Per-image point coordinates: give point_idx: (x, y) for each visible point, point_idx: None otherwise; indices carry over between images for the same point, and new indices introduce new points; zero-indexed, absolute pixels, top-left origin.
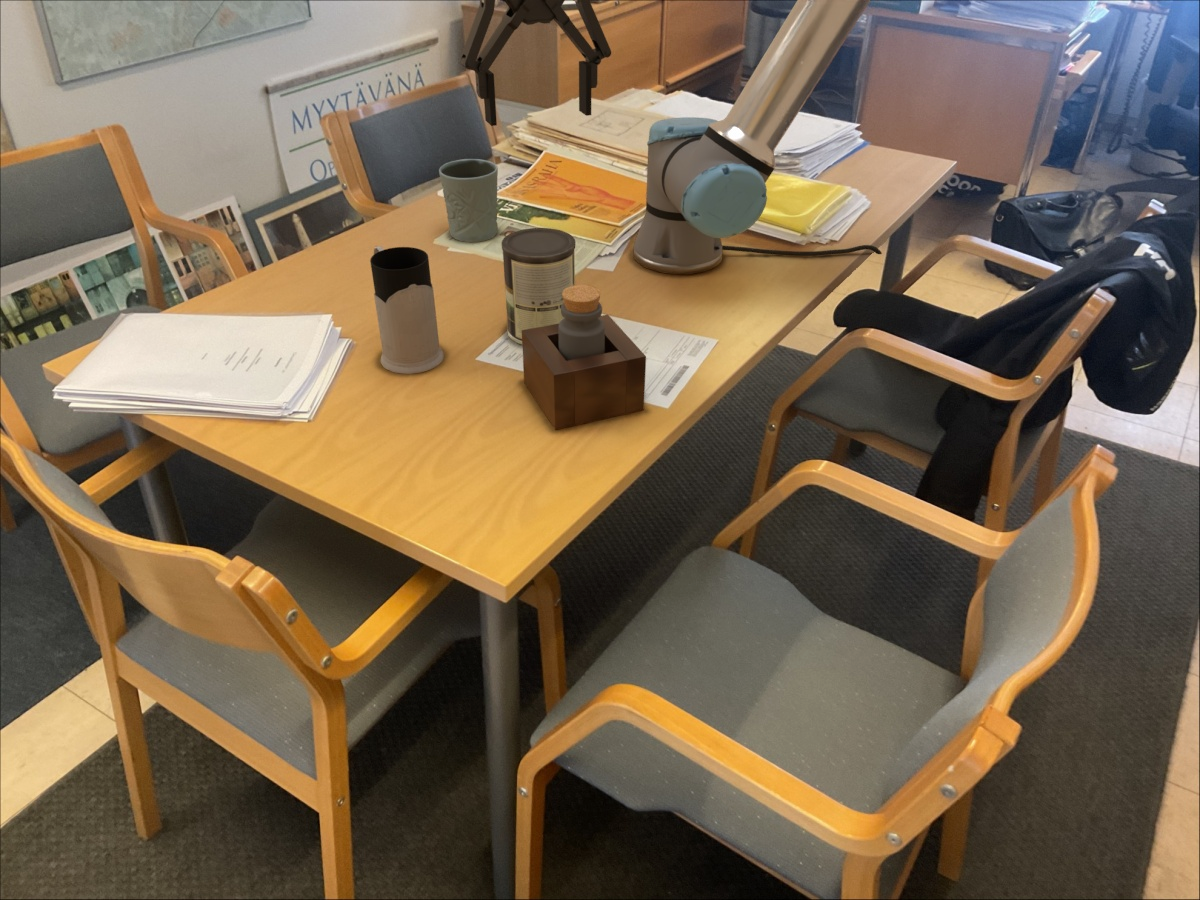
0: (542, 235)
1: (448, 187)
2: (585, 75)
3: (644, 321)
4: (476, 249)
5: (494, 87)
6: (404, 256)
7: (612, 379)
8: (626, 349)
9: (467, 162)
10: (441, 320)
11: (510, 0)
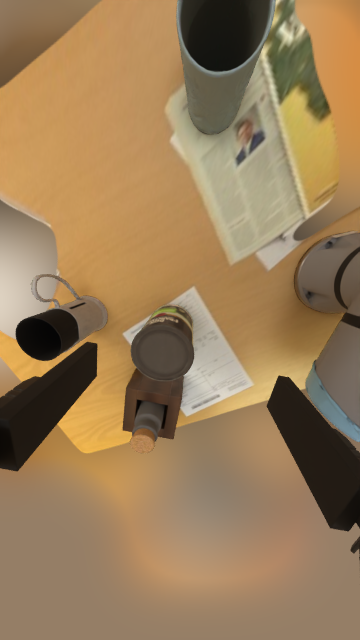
0: (172, 343)
1: (181, 54)
2: (311, 486)
3: (233, 347)
4: (195, 154)
5: (48, 433)
6: (51, 318)
7: None
8: (168, 430)
9: None
10: (119, 277)
11: None
